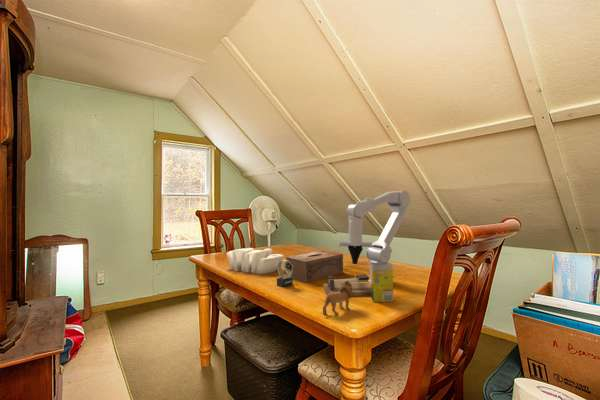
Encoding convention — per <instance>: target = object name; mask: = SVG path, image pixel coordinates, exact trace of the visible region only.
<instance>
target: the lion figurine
mask: <svg viewBox="0 0 600 400" xmlns="http://www.w3.org/2000/svg"><path fill="white" fill-rule="evenodd" d="M351 295H352V285H351V283H350V282H349V281H346V280H344V281H343V282H342V283H341V287H340V291H339V292H335V293H334V292H331V293H329V294H327V295H326V297H325V301H324V304H323V306H322V314H323V316H324V317H326V316H327V307H328V306H329V305H331V311H332V313H334V315H336V316H337V315H339V312H338V311H336V306H337V304H339V305H338V307H339V309H343V303H344V302H345V309H346V310H347V311H349V310H350V307H349V303H350V298H351V297H352V296H351Z"/></svg>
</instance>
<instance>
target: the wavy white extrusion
mask: <svg viewBox="0 0 600 400" xmlns="http://www.w3.org/2000/svg"><path fill="white" fill-rule="evenodd" d="M272 252H273V249H272V248H264V249H263V250H262V249H260V250H259V249H254V247H246V248H238V249H233V250H230V251H228V252H227V253H226V256H227V257H226V258H227V261H228V265H229V268H230V270H231V271H235V272H238V271H241V273H242V272H243V273H251V274H256V275H263V274H271V273H273V272H276V271H278V270H277V265H278V262H279V261H281V260H284V257H285V255H284V254H280V253H274V254H272Z"/></svg>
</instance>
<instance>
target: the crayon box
mask: <svg viewBox="0 0 600 400" xmlns="http://www.w3.org/2000/svg"><path fill="white" fill-rule="evenodd" d="M382 271H384V272H387V273H379V272H382ZM371 282H372V284H371V287H372V296H371V300H372V301H373V302H374V303H380V302H381V303H383V302H384V303H385V302H387V303H389V302H392V303H393V302H394V301H395V300H394V284H393V283H394V275H392V270H373V274H371Z"/></svg>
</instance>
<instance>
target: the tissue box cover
mask: <svg viewBox="0 0 600 400" xmlns="http://www.w3.org/2000/svg"><path fill="white" fill-rule="evenodd" d="M285 260H288V261H290V262H291V263H292V264H293V273H292V275H291V276H290V277H292V278H293V280H295V281H299V282H302V283H305V284H306V283H307V284H308V283H311V282H315V281H318V280H322V279H325V278H326V279H327V278H328V276H332V277H334V276H337V275H340V274H343V273H344V254H343V253H340V252H334V251H330V250H329V251H328V250H323V249H322V250H319V251H312V252H306V253H301V254H295V255H290V256H286V258H285ZM285 274H286V275H285V276H287V275H288V274H287V273H285Z"/></svg>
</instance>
